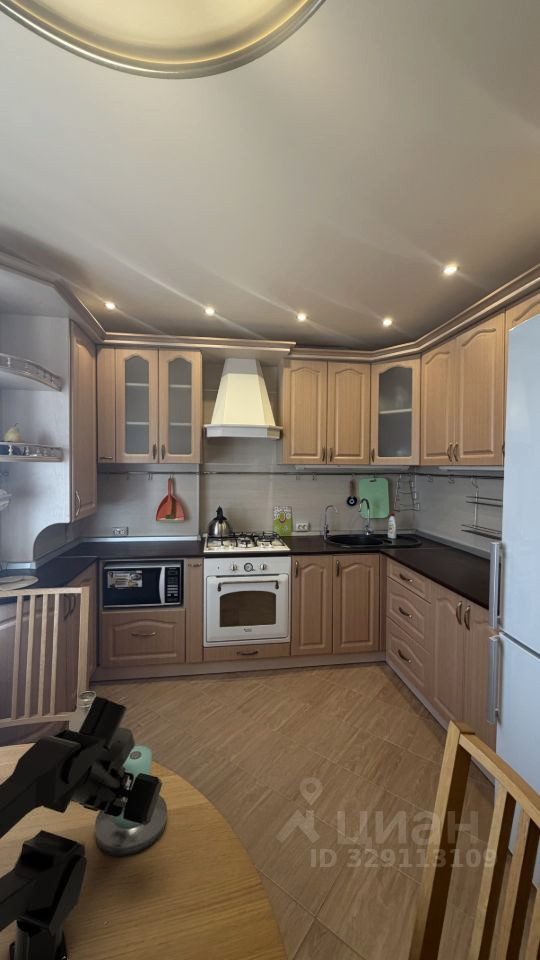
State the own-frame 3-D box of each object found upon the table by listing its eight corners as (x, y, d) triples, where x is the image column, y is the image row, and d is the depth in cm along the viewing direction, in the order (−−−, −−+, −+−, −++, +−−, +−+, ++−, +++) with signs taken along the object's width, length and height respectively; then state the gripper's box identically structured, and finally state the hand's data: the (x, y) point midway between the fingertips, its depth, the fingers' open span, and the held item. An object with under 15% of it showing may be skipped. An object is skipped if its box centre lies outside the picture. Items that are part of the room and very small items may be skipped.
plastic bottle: (56, 797, 83) (62, 700, 83) (81, 775, 89) (86, 685, 90) (81, 806, 81) (87, 706, 81) (104, 783, 87) (110, 690, 88)
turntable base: (174, 835, 75) (175, 828, 75) (105, 869, 68) (106, 862, 68) (151, 793, 85) (152, 787, 85) (89, 819, 78) (89, 813, 78)
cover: (156, 818, 76) (159, 758, 76) (118, 835, 72) (122, 772, 72) (144, 794, 81) (147, 739, 82) (108, 809, 77) (112, 750, 78)
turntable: (177, 828, 75) (177, 821, 75) (104, 864, 67) (105, 856, 67) (153, 785, 85) (153, 779, 85) (87, 812, 78) (88, 805, 78)
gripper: (159, 732, 67) (185, 757, 77) (65, 713, 71) (102, 739, 81) (129, 817, 59) (163, 832, 69) (26, 789, 63) (72, 807, 74)
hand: (124, 798), depth 73 cm, fingers closed
